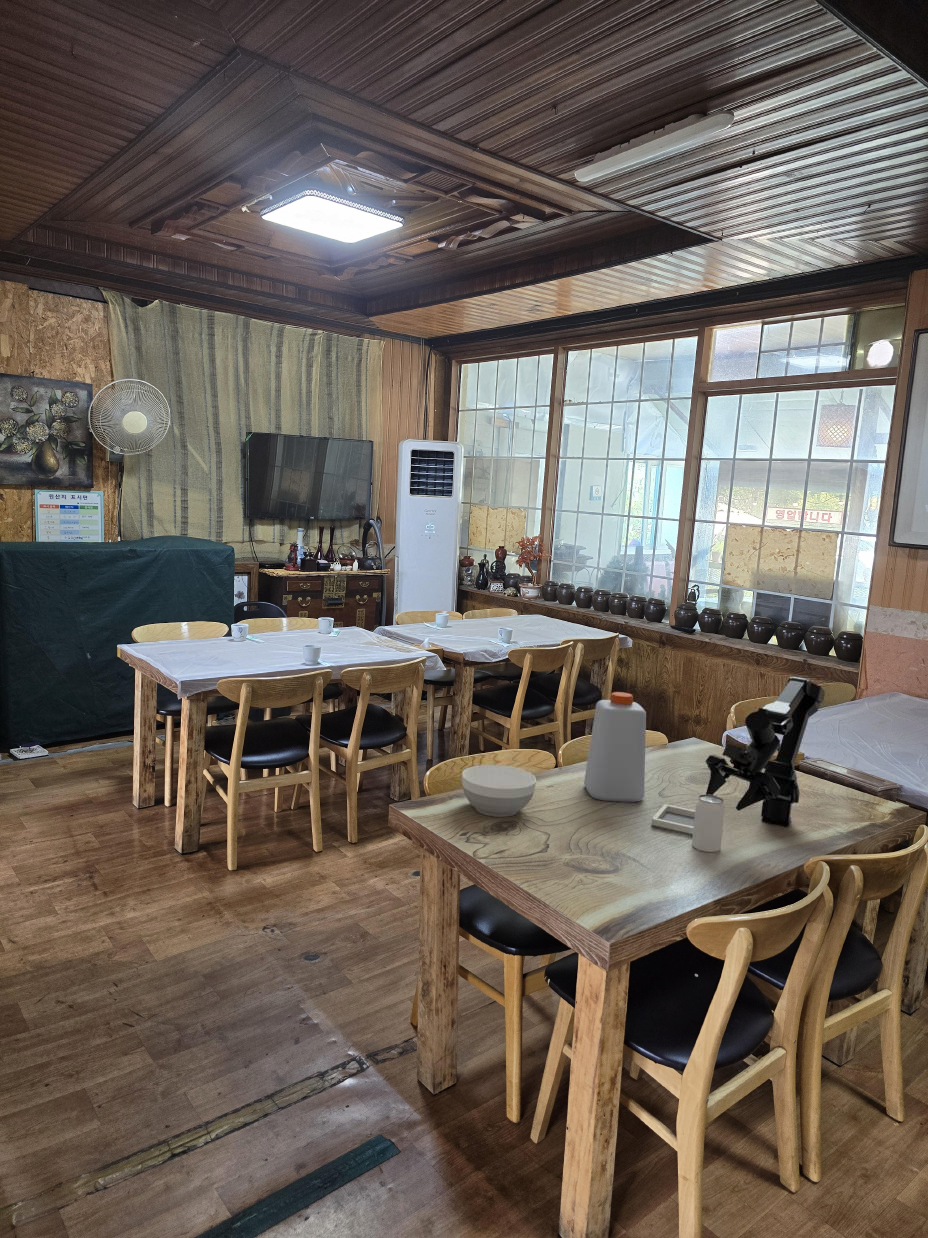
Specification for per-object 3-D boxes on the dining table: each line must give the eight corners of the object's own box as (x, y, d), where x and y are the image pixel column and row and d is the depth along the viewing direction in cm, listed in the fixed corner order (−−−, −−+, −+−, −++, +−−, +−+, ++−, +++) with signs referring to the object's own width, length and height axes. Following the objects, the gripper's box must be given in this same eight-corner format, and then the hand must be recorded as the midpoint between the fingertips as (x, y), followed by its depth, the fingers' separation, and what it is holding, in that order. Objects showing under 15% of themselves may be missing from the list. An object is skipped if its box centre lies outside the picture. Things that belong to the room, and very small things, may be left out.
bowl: (528, 827, 203) (531, 792, 202) (452, 817, 206) (454, 782, 205) (537, 802, 221) (540, 769, 220) (467, 792, 225) (469, 761, 224)
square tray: (714, 822, 214) (715, 815, 214) (704, 838, 203) (705, 830, 203) (664, 811, 220) (664, 804, 220) (651, 826, 209) (651, 818, 208)
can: (688, 849, 196) (694, 799, 194) (695, 840, 202) (700, 792, 200) (717, 855, 193) (722, 805, 191) (722, 846, 199) (727, 797, 197)
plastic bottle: (633, 785, 240) (642, 689, 236) (647, 804, 225) (656, 702, 221) (581, 783, 239) (589, 686, 235) (591, 801, 224) (599, 699, 220)
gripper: (714, 722, 206) (677, 770, 202) (777, 742, 190) (739, 795, 186) (733, 750, 211) (697, 798, 207) (796, 772, 195) (759, 824, 191)
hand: (721, 803), depth 198 cm, fingers open, 9 cm apart
